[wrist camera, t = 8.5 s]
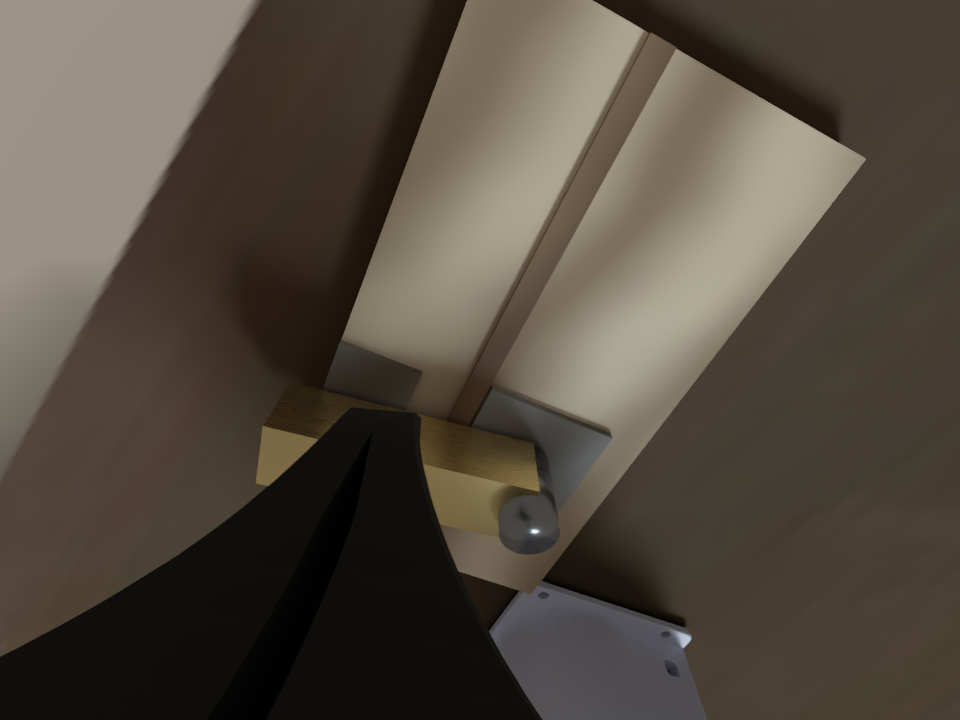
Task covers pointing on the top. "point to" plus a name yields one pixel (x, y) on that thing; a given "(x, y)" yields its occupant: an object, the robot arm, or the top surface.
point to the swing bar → (436, 468)
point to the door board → (575, 246)
